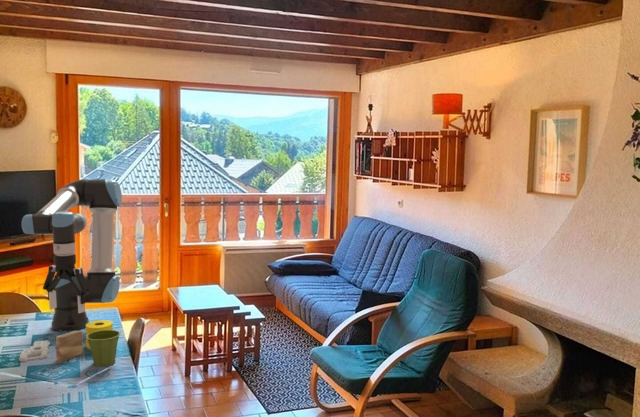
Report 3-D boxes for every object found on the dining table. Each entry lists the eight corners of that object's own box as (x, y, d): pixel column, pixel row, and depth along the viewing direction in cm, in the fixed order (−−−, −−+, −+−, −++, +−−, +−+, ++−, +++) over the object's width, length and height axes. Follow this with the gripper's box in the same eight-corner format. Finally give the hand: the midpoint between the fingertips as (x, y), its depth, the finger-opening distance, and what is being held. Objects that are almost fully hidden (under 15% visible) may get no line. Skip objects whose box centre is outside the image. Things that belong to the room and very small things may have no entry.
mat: (55, 360, 229) (55, 359, 229) (85, 365, 224) (85, 364, 224) (21, 376, 214) (21, 374, 214) (52, 382, 209) (52, 380, 209)
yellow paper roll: (114, 341, 249) (113, 319, 248) (112, 350, 240) (111, 327, 239) (88, 343, 247) (87, 320, 246) (85, 352, 238) (83, 328, 236)
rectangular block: (55, 360, 227) (56, 336, 226) (75, 353, 236) (75, 330, 236) (62, 361, 226) (62, 337, 225) (82, 354, 235) (82, 331, 234)
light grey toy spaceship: (23, 340, 241) (51, 337, 245) (23, 348, 242) (51, 345, 245) (18, 358, 224) (48, 355, 228) (18, 367, 225) (48, 364, 228)
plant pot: (128, 360, 229) (127, 331, 228) (107, 372, 218) (106, 341, 217) (101, 356, 233) (100, 327, 232) (80, 367, 222) (78, 337, 221)
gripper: (30, 253, 228) (33, 309, 230) (84, 258, 218) (86, 316, 221) (46, 250, 234) (49, 304, 237) (98, 254, 225) (101, 311, 228)
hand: (67, 310), depth 229 cm, fingers open, 13 cm apart
